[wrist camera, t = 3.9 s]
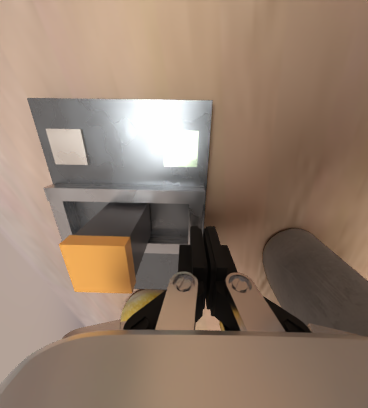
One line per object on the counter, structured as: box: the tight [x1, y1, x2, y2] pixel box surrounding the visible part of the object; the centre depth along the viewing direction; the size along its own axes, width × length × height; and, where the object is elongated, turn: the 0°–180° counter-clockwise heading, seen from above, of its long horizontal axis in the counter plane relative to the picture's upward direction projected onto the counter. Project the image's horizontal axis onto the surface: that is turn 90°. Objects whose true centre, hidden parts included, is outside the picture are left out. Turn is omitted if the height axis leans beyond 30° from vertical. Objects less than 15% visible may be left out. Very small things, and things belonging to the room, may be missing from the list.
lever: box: [59, 202, 151, 294], centre depth 11 cm, size 3×3×6 cm
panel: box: [27, 98, 213, 290], centre depth 14 cm, size 12×17×3 cm
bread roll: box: [121, 289, 165, 322], centre depth 20 cm, size 8×9×4 cm
